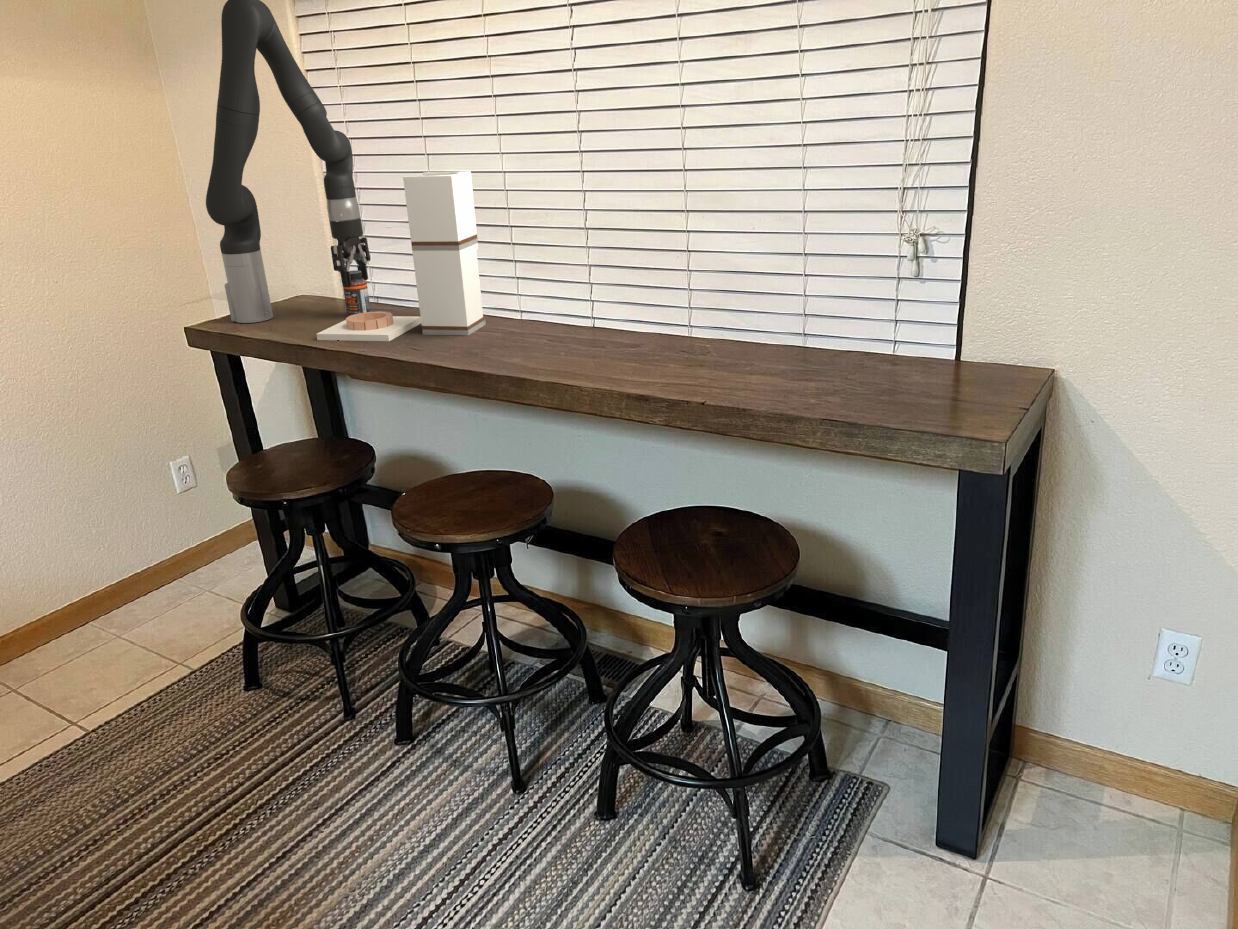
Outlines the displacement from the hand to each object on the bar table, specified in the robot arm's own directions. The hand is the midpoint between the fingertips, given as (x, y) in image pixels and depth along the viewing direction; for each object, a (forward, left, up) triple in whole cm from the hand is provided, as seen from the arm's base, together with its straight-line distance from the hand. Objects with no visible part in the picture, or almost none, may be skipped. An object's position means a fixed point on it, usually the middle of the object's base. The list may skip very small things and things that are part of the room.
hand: (355, 283), depth 230 cm
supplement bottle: (0, 0, -9) cm, 9 cm away
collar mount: (+11, -15, -8) cm, 20 cm away
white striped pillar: (+31, -12, -9) cm, 34 cm away
